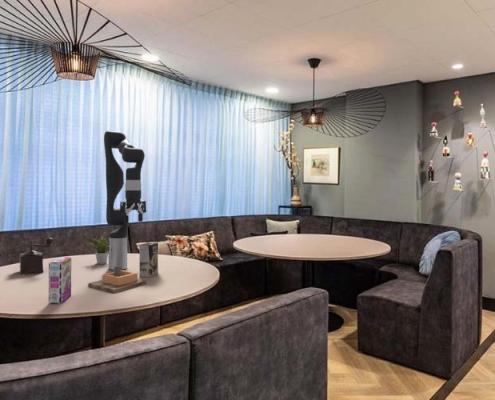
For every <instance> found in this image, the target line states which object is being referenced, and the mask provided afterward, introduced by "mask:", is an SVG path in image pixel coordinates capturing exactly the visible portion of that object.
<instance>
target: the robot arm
mask: <svg viewBox="0 0 495 400" xmlns="http://www.w3.org/2000/svg"><path fill="white" fill-rule="evenodd" d="M103 144H104V145H103V146H104V154H105V185H106V186H105V187H106V210H105V211H106V212H105V213H106V214H105V217H106V218H105V219H106V224H107V225H108V226H119V227H118V228H117V229H115V230H112V231H111V232H110V233H109V236H108V239H109V241H108V242H109V243H108V245H110V246H109V247H110V248H109V250H108V251H107V252H108V269H109V270H112V271H114V268H115V267H116V266H120V267H121V270H127V269H128V227H129V226H128V225H129V220H130V219H129V214H130V212H131V211H136V212H137V213H138V214H137V221H138V222H143V220H144V214H145V213H146V212H147V202H146V200H141V199H142V181H141V180H142V179H141V178H142V177H141V175H142V167H143V164H144V161H145V157H146V155H145V151H144V149H143V148H135V146H134V145H132V144H131V143H130V141H129V139H128V137H127V135H126V134H125V133H123V132H122V131H112V130H106V131H105V132H104V135H103ZM113 149H118V152H119V153H120V155H121V158H122V161H123V162H125V163H127V164H128V163H130V164H133V163H134V164H135V165H134V166H132V167H127V168H126V169H125V174H124V170H123V169H122V167H121V165H120V164H119V162H118V161H117V160H116V158H115V155H114V153H113ZM124 175H125V176H124ZM124 177H125V178H124ZM124 181H125V182H124ZM123 187H124V188H125V189H124V192H125V193H124V196H125V201H120V203H119V207H118V208H117V207H115V206H114V205H115V202H116V199H117V197H118V195H119V194H120V192H121V190H122V189H123Z"/></svg>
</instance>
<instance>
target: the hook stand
mask: <svg viewBox="0 0 495 400" xmlns="http://www.w3.org/2000/svg"><path fill="white" fill-rule="evenodd" d="M113 272H114V276H118V277H120V276H121V267H120V266H116V267H115V268H114V270H113ZM146 284H147V280H144V279H141V278H138V280H137V281H133V282H130V283H126V284H123V285H119V286H118V285H113V284H109V283H105V282H103V279H99V280H95V281H91V282H88V283H87V285H88V286H87V287H90V288H94V289H97V290H101V291H104V292H109V293H113V294H115V293H119V292H122V291H123V292H124V291H126V290H129V289H134V288H135V287H139V286H143V285H146Z"/></svg>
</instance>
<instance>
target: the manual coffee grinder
mask: <svg viewBox="0 0 495 400" xmlns="http://www.w3.org/2000/svg"><path fill="white" fill-rule="evenodd" d="M45 242H46V244H45V245H44V244H34V243H33V240H29V250H28V251H25V252H24V253H23V252H22V253H19V274H26V275H32V274H31V273H34V274H41V272H42V273H43V272H44V257H43V256H44V255H43V252H42V251H41V252H40V251H36V250H33V246H34V247H43V248H51V247H52V244H53V242H54V239H53V238H52V237H47V238H45Z"/></svg>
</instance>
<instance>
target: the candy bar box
mask: <svg viewBox="0 0 495 400" xmlns="http://www.w3.org/2000/svg"><path fill="white" fill-rule="evenodd" d="M71 296H72V257H69V256H68V257H64V256H63V257H58V258H56V259H54V260H52V261H50V262H48V304H51V305H53V304H54V305H55V304H56V305H57V304H58V305H59V304H62V303H63V302H64V301H66V300H67V299H69V298H70V297H71Z"/></svg>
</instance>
